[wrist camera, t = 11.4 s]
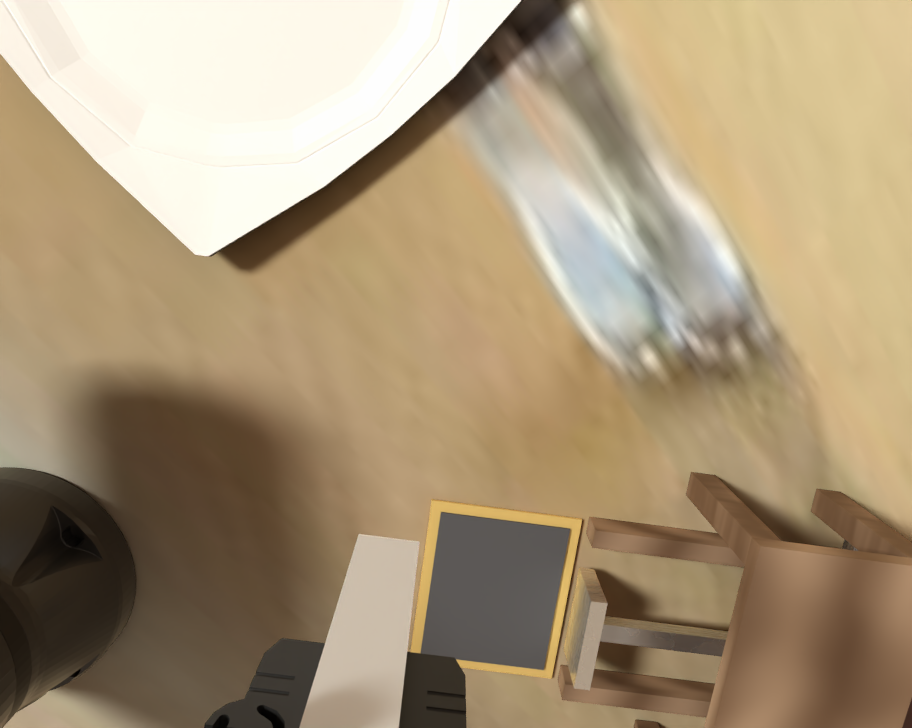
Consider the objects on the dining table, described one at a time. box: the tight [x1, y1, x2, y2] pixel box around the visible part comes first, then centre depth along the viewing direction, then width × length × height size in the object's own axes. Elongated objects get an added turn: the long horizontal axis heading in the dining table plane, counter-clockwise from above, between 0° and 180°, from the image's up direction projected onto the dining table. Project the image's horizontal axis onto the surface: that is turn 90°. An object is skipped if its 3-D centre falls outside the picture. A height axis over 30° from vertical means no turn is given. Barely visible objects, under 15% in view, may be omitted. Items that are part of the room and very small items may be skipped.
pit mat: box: [410, 499, 582, 679], centre depth 46 cm, size 10×12×1 cm
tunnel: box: [558, 472, 912, 728], centre depth 41 cm, size 22×20×10 cm
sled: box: [564, 540, 858, 690], centre depth 44 cm, size 29×16×5 cm, turn 82°
